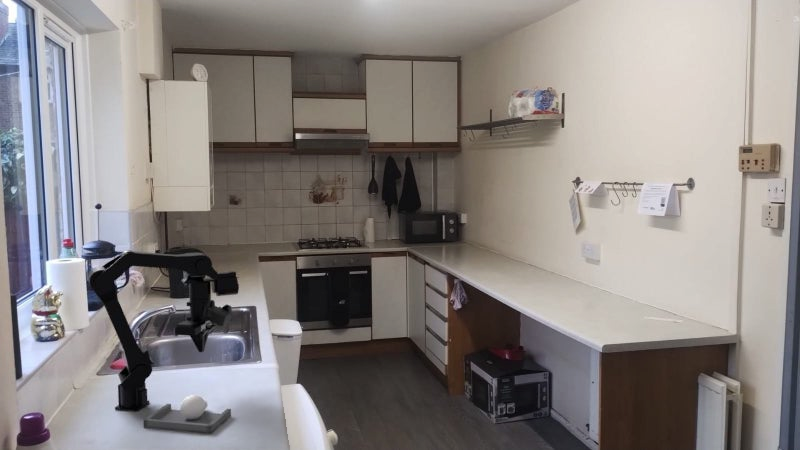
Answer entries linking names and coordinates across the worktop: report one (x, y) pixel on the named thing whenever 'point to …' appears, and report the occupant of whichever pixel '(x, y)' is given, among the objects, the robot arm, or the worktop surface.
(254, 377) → the worktop surface
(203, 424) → the tray
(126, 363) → the robot arm
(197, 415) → the lightbulb
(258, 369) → the worktop surface
